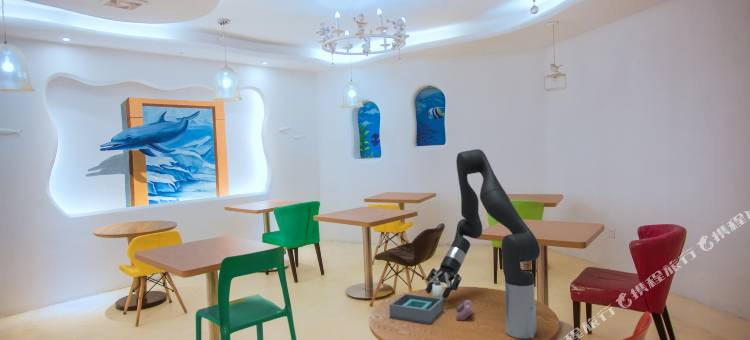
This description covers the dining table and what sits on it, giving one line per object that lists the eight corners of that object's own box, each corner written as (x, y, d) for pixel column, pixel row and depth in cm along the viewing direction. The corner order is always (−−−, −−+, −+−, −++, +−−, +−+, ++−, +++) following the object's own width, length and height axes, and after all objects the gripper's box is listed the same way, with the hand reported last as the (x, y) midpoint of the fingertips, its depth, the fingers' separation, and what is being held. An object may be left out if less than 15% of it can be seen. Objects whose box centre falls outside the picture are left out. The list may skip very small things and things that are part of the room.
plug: (444, 304, 176) (443, 280, 176) (441, 308, 173) (440, 282, 172) (435, 303, 178) (434, 279, 178) (431, 306, 175) (430, 281, 174)
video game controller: (466, 325, 159) (475, 309, 158) (455, 319, 160) (463, 302, 159) (466, 315, 169) (474, 299, 168) (455, 309, 169) (463, 294, 168)
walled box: (443, 311, 169) (443, 298, 169) (430, 324, 157) (429, 310, 157) (405, 305, 177) (404, 293, 177) (389, 317, 165) (389, 304, 164)
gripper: (435, 252, 185) (417, 286, 178) (463, 258, 174) (445, 293, 167) (443, 262, 189) (426, 295, 182) (471, 268, 178) (454, 304, 171)
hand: (435, 294), depth 175 cm, fingers open, 8 cm apart
